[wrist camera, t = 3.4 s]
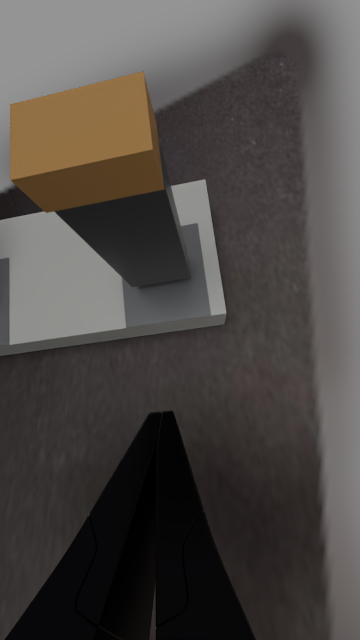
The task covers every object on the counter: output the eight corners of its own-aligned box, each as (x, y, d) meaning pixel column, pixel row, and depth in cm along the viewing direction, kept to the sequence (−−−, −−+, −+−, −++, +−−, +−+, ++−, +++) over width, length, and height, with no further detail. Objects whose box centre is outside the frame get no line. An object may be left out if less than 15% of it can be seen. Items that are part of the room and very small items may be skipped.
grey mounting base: (224, 324, 20) (226, 313, 16) (-23, 359, 22) (-76, 356, 18) (207, 213, 22) (205, 178, 18) (-21, 256, 24) (-69, 233, 20)
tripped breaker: (191, 282, 16) (152, 149, 6) (132, 292, 16) (10, 180, 6) (186, 247, 16) (143, 71, 7) (129, 257, 16) (10, 104, 7)
